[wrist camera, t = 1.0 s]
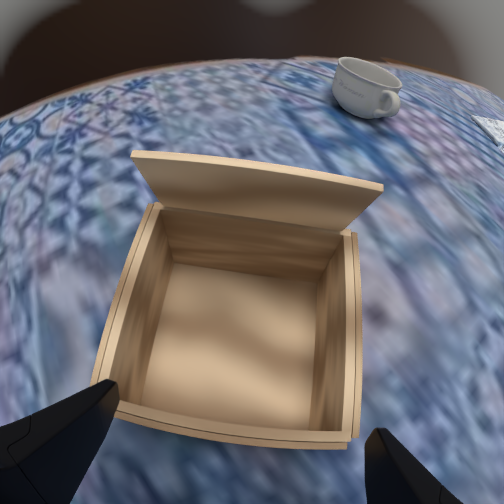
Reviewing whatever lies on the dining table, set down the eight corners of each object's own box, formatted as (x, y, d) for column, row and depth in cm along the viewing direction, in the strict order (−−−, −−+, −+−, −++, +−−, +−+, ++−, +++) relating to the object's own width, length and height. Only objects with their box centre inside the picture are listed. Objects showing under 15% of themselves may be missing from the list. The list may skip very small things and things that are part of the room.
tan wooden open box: (317, 443, 20) (357, 448, 13) (127, 415, 20) (85, 407, 13) (326, 281, 28) (356, 230, 21) (165, 258, 28) (149, 201, 21)
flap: (383, 191, 14) (383, 182, 14) (130, 156, 14) (133, 148, 14) (341, 231, 21) (342, 224, 21) (162, 206, 21) (164, 199, 21)
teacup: (321, 89, 48) (330, 51, 41) (376, 98, 49) (388, 63, 42) (342, 134, 41) (356, 87, 34) (404, 143, 42) (423, 103, 35)
